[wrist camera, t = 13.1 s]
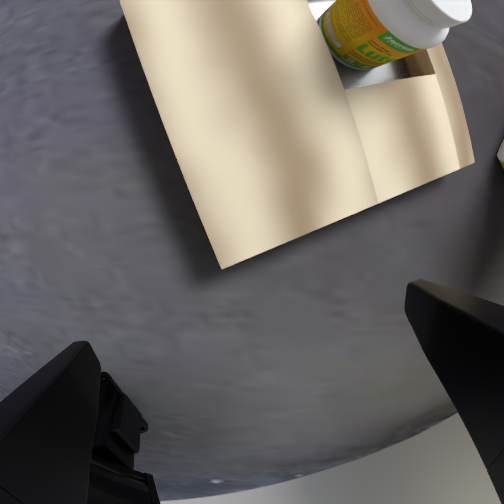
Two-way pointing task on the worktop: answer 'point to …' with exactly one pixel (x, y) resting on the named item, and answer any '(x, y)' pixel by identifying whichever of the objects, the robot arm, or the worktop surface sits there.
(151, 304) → the worktop surface
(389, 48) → the supplement bottle
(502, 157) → the juice carton
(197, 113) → the socket board
